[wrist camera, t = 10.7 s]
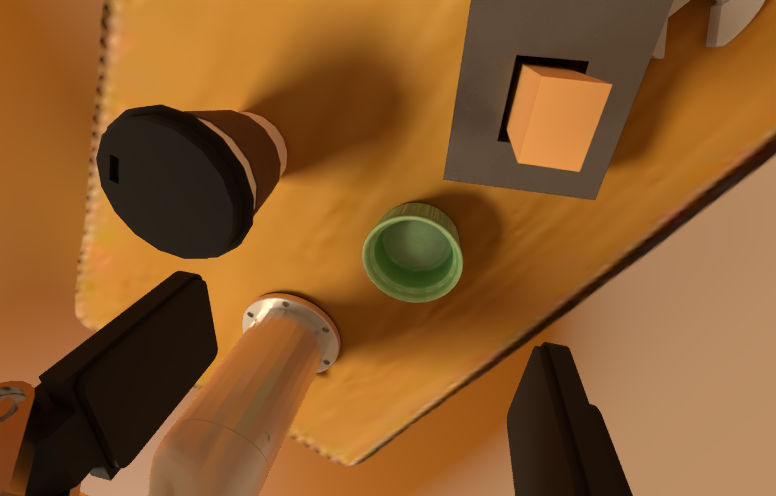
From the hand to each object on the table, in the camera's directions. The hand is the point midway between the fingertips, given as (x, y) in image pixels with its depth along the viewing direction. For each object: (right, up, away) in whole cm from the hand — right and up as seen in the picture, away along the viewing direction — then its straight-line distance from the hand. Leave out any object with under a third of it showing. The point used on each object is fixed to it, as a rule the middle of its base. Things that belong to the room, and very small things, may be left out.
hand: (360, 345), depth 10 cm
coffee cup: (-11, +12, +24) cm, 29 cm away
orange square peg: (+11, +14, +17) cm, 25 cm away
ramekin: (+4, +4, +26) cm, 26 cm away
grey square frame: (+11, +14, +17) cm, 25 cm away
